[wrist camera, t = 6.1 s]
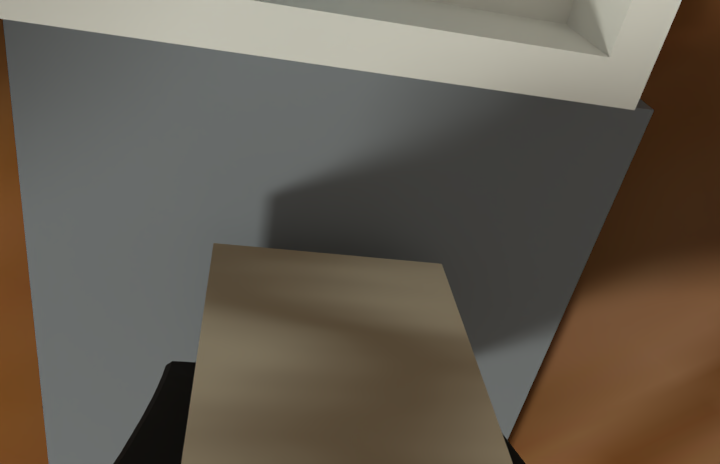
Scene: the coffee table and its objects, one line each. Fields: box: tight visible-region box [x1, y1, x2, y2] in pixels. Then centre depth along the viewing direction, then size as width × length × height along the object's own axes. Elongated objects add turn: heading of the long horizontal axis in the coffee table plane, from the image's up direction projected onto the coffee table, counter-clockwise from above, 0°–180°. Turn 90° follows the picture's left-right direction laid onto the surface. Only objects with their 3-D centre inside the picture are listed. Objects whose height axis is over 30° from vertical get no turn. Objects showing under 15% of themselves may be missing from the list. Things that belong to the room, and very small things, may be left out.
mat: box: [3, 19, 654, 464], centre depth 15 cm, size 12×12×1 cm
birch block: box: [181, 243, 513, 464], centre depth 12 cm, size 4×4×5 cm
